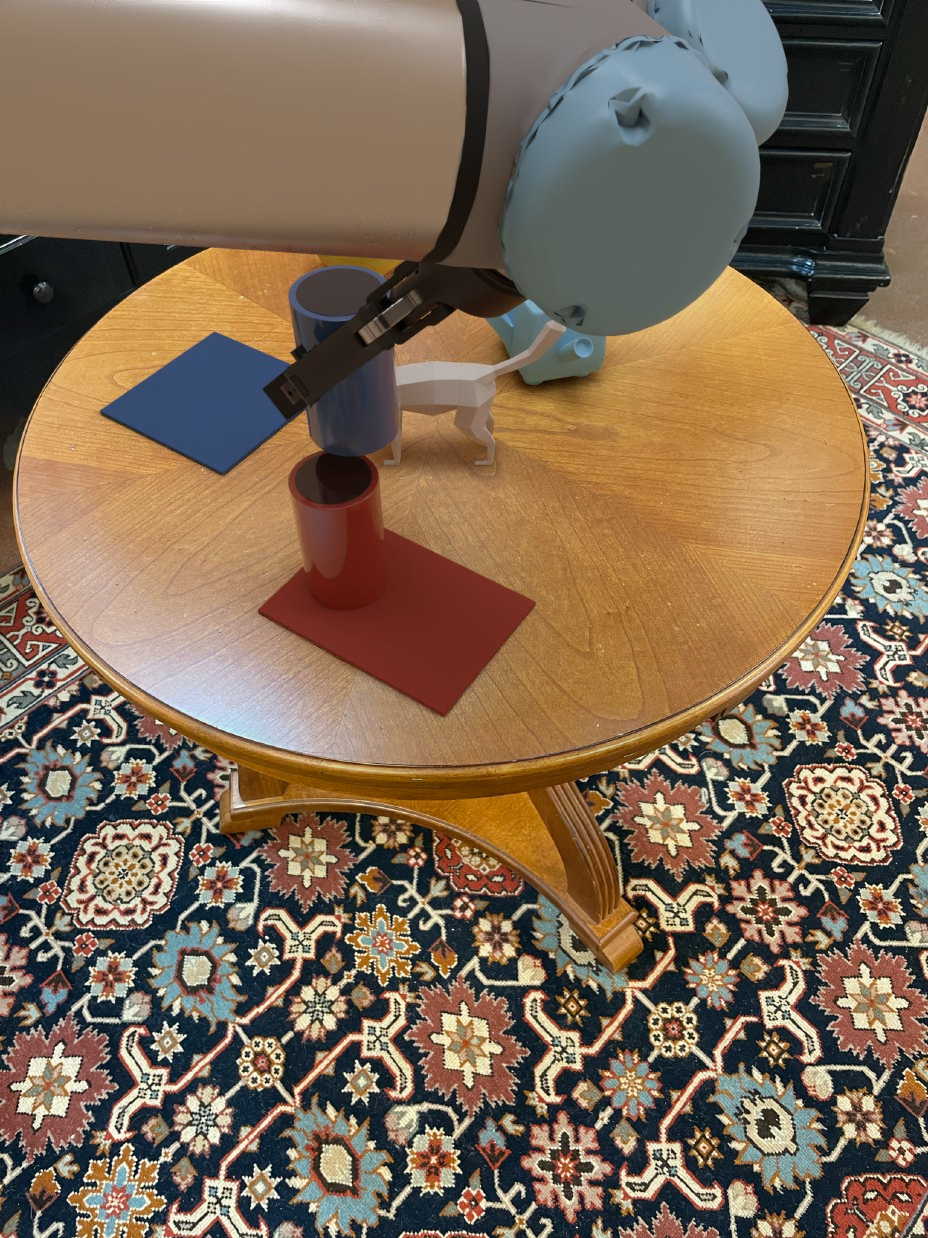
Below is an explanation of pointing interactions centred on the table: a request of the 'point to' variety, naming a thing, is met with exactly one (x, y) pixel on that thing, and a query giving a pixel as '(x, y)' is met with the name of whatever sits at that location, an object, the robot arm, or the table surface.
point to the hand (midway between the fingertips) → (311, 375)
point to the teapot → (562, 358)
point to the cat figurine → (462, 391)
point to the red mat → (411, 623)
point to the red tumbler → (340, 528)
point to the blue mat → (206, 403)
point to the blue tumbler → (367, 398)
